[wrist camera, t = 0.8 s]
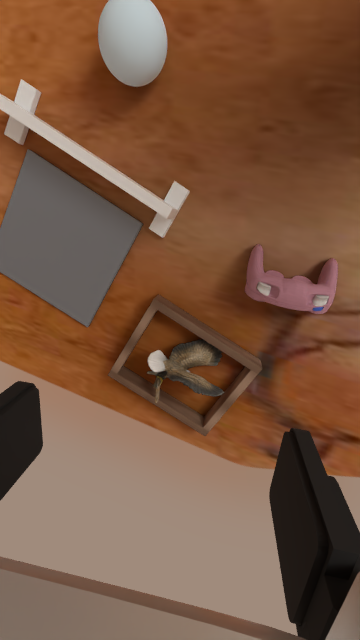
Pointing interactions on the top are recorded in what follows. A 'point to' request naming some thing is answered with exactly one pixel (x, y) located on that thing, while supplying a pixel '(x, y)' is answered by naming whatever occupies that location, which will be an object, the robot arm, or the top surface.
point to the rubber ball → (132, 40)
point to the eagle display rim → (167, 401)
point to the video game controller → (291, 286)
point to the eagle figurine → (185, 366)
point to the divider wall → (87, 156)
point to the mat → (63, 239)
